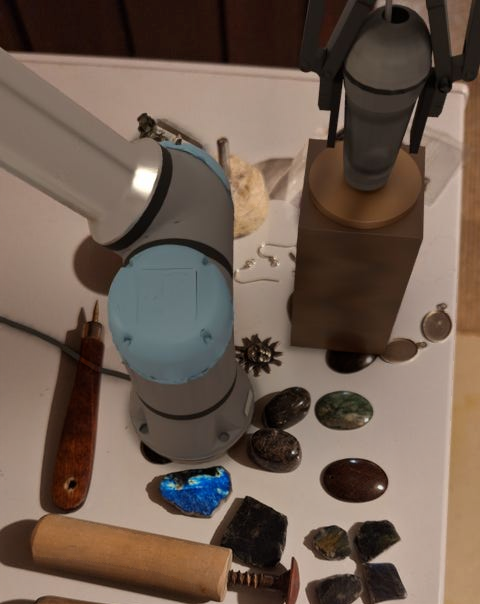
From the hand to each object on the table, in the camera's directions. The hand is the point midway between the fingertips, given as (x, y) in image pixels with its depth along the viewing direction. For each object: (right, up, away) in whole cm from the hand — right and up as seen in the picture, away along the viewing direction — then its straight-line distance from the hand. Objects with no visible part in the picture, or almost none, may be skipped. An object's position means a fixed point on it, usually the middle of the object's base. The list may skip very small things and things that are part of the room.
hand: (372, 139), depth 58 cm
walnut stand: (+1, -11, +25) cm, 28 cm away
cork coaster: (0, -2, +5) cm, 6 cm away
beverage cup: (0, -2, +4) cm, 4 cm away
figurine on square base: (-23, +15, +38) cm, 47 cm away
